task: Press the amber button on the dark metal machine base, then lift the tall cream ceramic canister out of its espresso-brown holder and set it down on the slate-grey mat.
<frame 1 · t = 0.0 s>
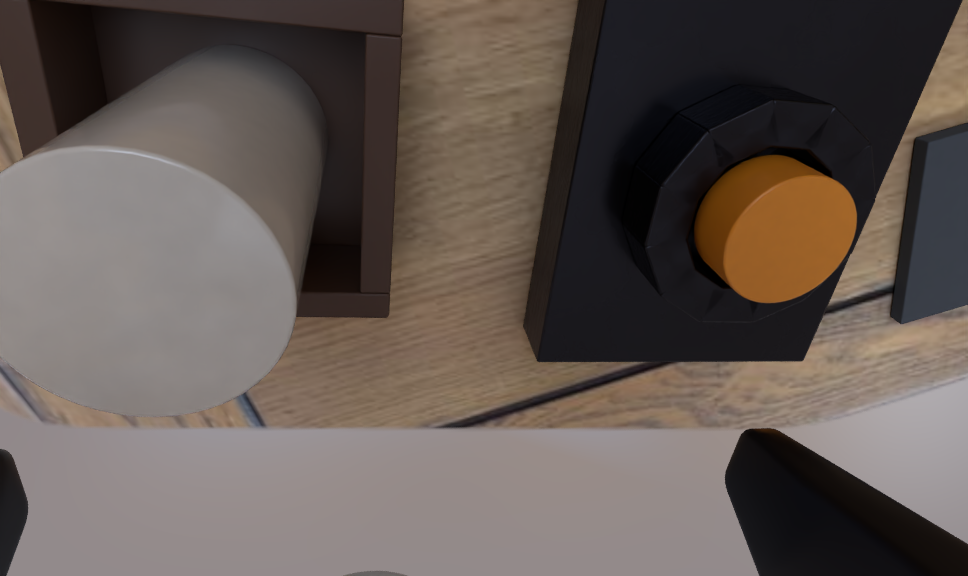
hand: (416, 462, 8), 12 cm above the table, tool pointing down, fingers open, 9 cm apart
button: (771, 229, 16), point 4 cm above the table, slide at 0.1 cm
machine base: (695, 174, 20), on the table
canister: (242, 133, 17), resting on holder
holder: (245, 128, 17), on the table
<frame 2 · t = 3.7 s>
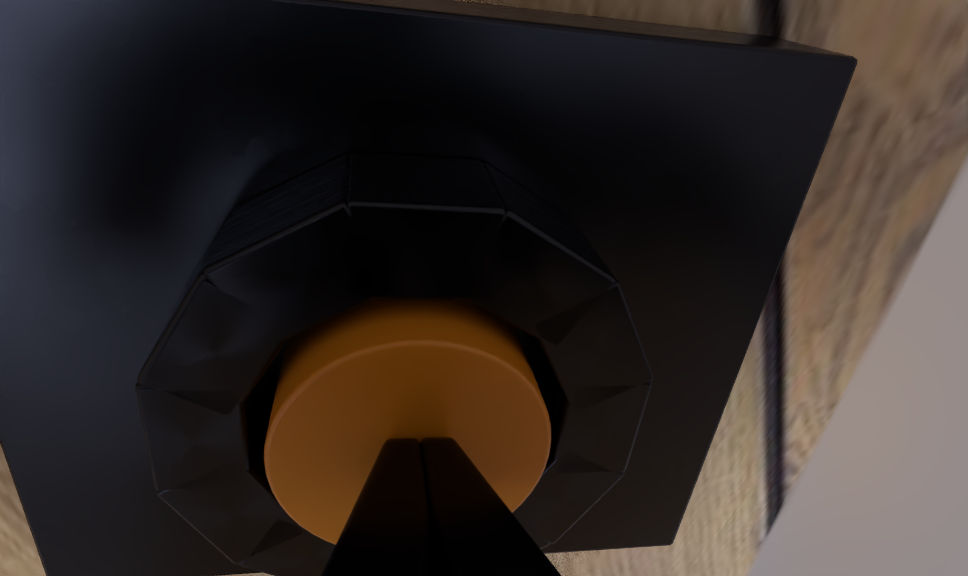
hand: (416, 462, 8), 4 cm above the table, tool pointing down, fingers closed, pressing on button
button: (409, 414, 8), point 4 cm above the table, slide at -0.8 cm, touching gripper
machine base: (398, 288, 12), on the table
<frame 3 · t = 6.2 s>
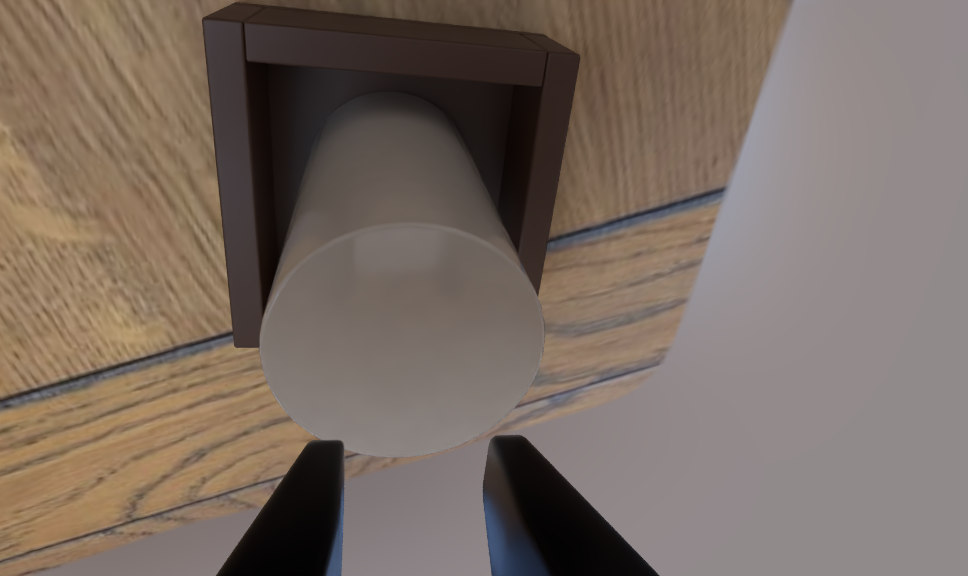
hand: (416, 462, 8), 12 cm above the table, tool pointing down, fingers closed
canister: (391, 172, 18), resting on holder
holder: (390, 167, 18), on the table
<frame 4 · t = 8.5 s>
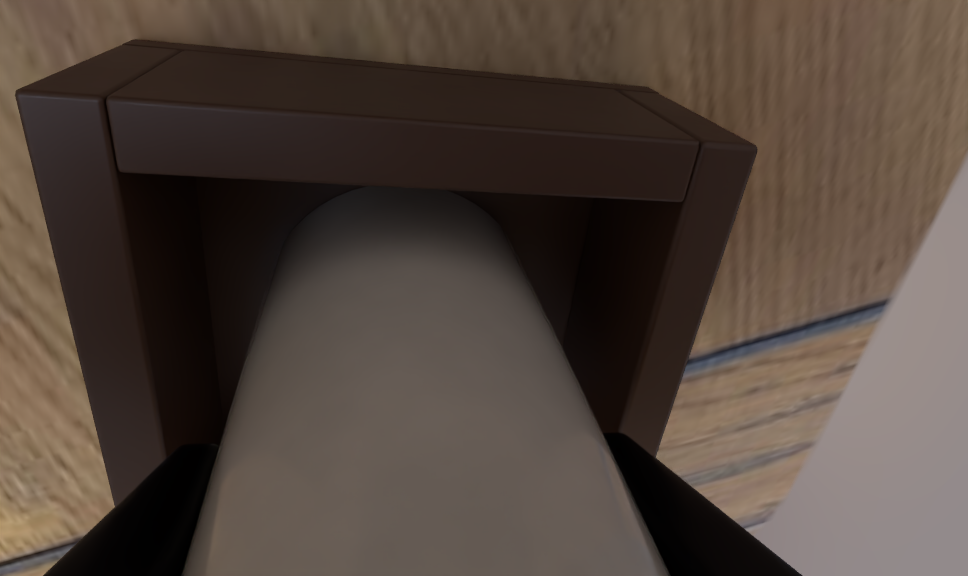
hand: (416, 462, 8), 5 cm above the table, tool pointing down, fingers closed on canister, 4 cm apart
canister: (400, 301, 11), point 1 cm above the table, touching gripper, holder
holder: (399, 288, 12), on the table
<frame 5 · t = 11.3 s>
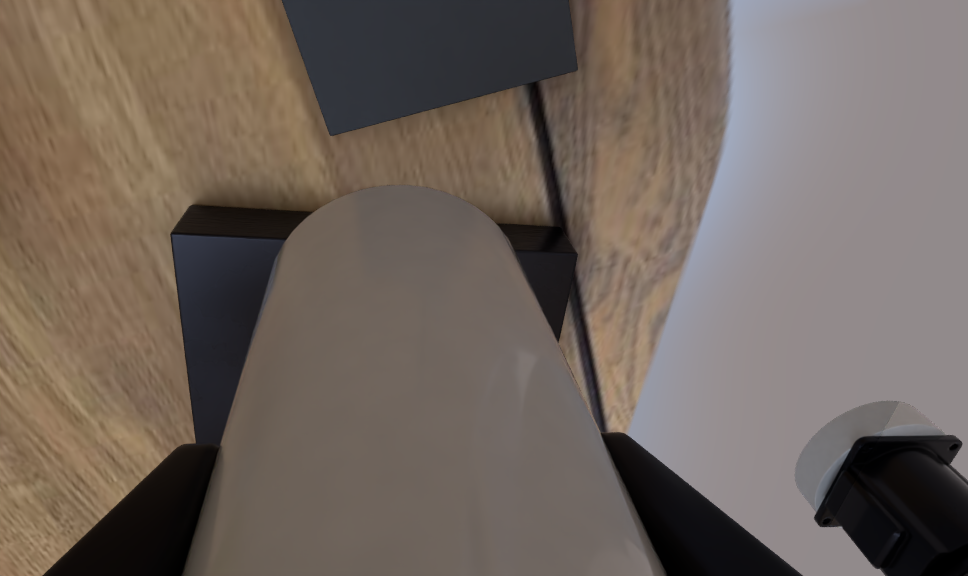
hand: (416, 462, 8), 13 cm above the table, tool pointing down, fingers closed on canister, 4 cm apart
machine base: (378, 342, 22), on the table
canister: (400, 303, 11), point 9 cm above the table, touching gripper
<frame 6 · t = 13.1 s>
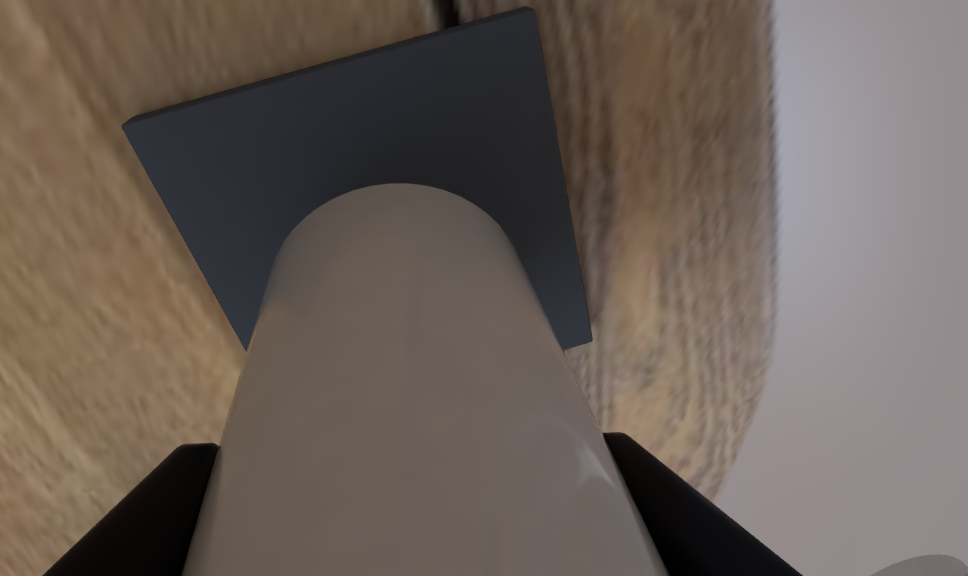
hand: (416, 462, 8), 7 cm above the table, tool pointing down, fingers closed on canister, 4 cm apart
canister: (400, 302, 11), point 3 cm above the table, touching gripper
mat: (393, 238, 13), on the table
when the fingers open (5 cm above the table, at t = 14.1 s): canister stays where it is, resting on mat.
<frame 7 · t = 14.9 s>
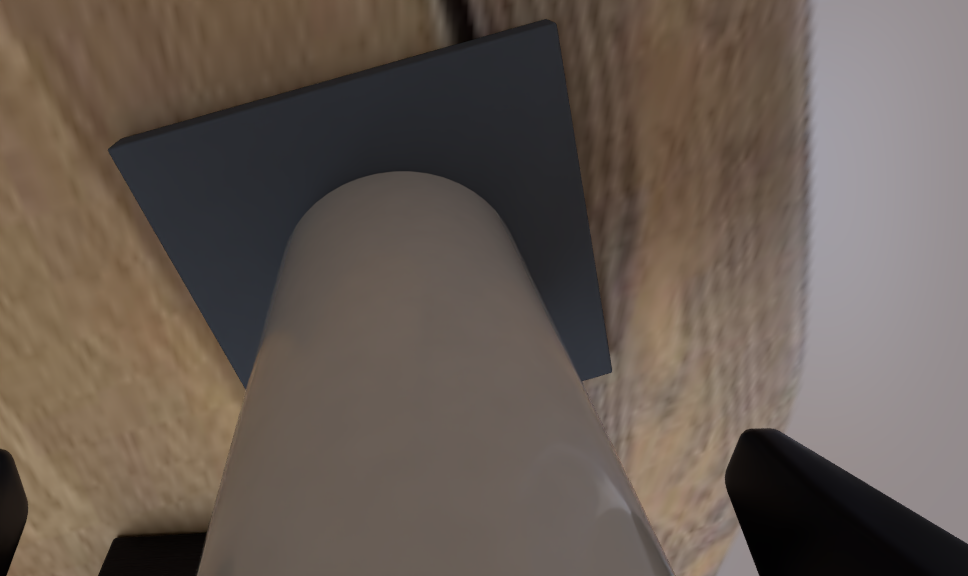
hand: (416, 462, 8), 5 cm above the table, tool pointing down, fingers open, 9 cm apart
canister: (403, 283, 12), point 1 cm above the table, touching mat
mat: (401, 266, 12), on the table
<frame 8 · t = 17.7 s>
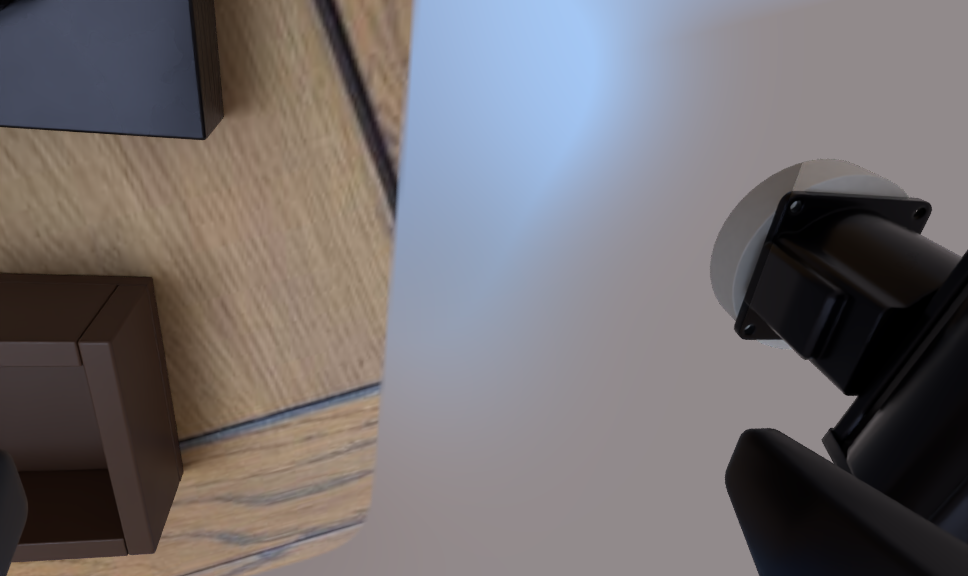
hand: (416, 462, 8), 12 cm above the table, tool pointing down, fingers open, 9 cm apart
holder: (33, 384, 20), on the table
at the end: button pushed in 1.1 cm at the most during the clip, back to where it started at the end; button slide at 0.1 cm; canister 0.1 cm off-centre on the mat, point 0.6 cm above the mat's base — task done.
